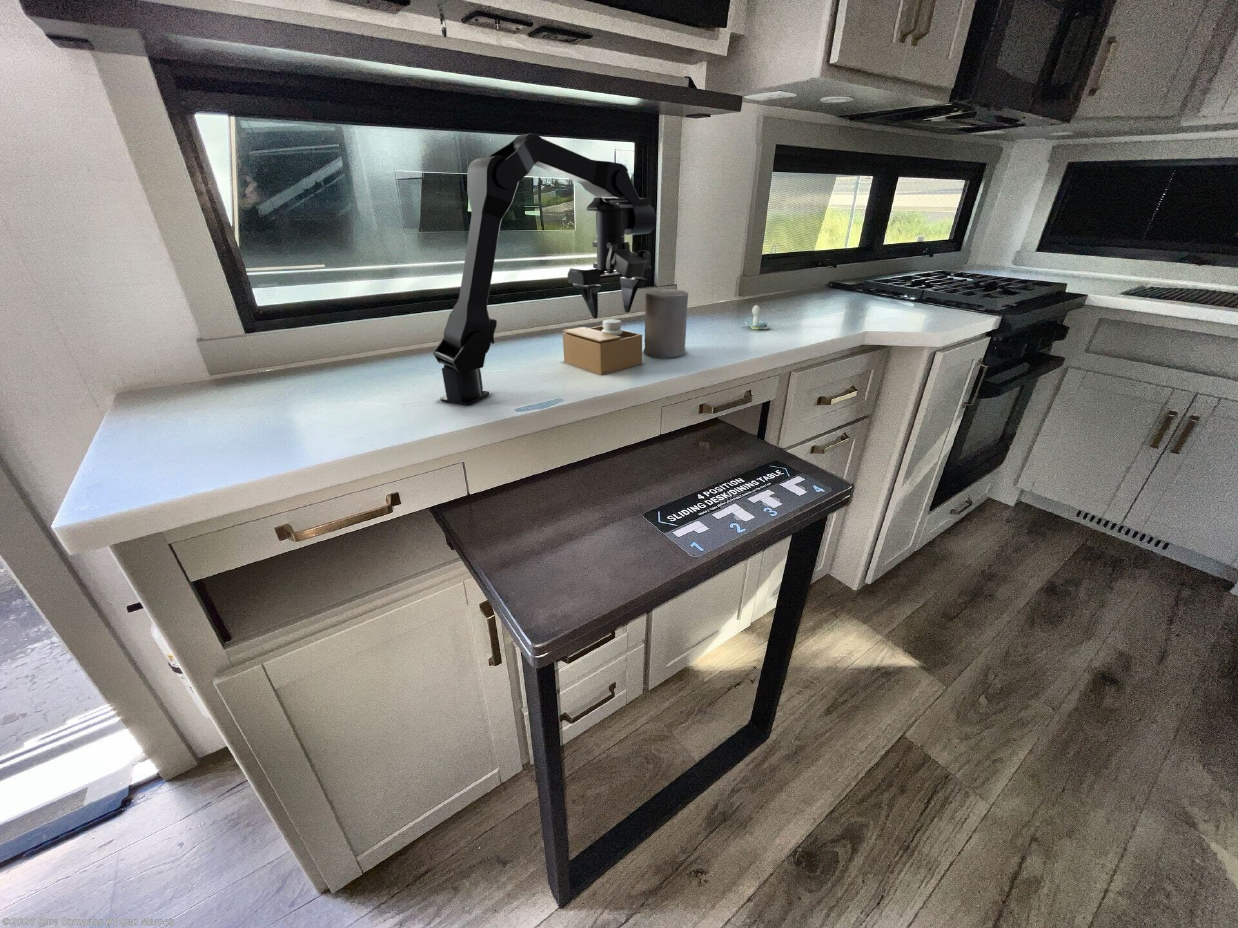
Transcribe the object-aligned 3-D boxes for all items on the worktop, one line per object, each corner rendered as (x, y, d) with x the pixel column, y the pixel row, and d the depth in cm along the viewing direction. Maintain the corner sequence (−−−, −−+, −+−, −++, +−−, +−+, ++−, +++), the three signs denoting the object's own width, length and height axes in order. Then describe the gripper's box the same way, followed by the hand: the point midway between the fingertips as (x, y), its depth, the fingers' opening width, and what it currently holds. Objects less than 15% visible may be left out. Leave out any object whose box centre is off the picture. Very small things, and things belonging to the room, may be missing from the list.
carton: (600, 375, 104) (600, 344, 101) (564, 362, 113) (562, 333, 110) (641, 363, 111) (642, 334, 108) (604, 352, 120) (603, 325, 117)
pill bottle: (604, 362, 111) (603, 323, 107) (599, 357, 115) (598, 319, 111) (625, 360, 112) (625, 322, 108) (619, 355, 116) (619, 318, 112)
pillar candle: (635, 352, 119) (636, 286, 113) (663, 345, 125) (665, 281, 118) (666, 360, 113) (668, 291, 106) (694, 352, 119) (698, 286, 112)
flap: (600, 342, 101) (600, 340, 101) (562, 331, 110) (562, 330, 110) (621, 338, 105) (621, 336, 105) (583, 328, 113) (583, 326, 113)
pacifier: (759, 325, 145) (741, 326, 143) (762, 302, 142) (744, 303, 140) (774, 330, 139) (756, 331, 137) (778, 307, 136) (760, 308, 134)
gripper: (600, 240, 91) (602, 328, 98) (671, 235, 102) (668, 314, 109) (563, 238, 98) (568, 319, 106) (633, 233, 109) (633, 307, 117)
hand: (611, 315), depth 109 cm, fingers open, 9 cm apart
